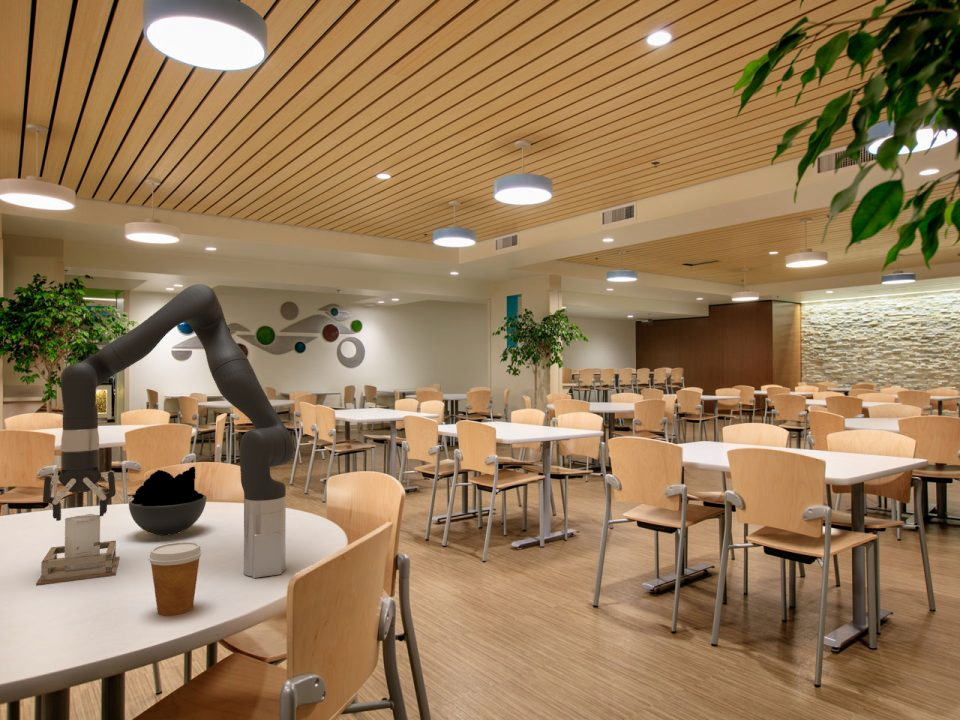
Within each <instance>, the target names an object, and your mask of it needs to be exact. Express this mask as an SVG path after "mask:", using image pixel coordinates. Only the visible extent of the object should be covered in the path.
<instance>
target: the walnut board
mask: <svg viewBox="0 0 960 720" xmlns="http://www.w3.org/2000/svg"><path fill="white" fill-rule="evenodd" d="M120 559H121V557H120V555H119V556H118V555H117V556H116V558H115V562H114V566H113V569H112V573H105V574H97V575H89V576H81V577H73V578H65V579H57V580H49V581H41V575H40V576H39V578H38V580H37V581H36V582H35V586H41V585H51V584H57V583H58V584H59V583H65V582H74V581H81V580H89V579H97V578H98V579H100V578H105V577H113V576H116V575H117V574H116V573H117V570H118V567H119V562H120ZM101 566H106V561H102V562H100V566H98V567H101ZM59 571H66V570H64V566H60V567H55V569H54V571H53V572H59Z"/></svg>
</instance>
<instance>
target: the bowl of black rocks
mask: <svg viewBox="0 0 960 720" xmlns="http://www.w3.org/2000/svg"><path fill="white" fill-rule="evenodd" d="M195 480H196V467H195V466H191V467H189V468H188V469H187V470H185V471H182V473H178V474H177V475H176V476H175V477H174V475H172V474H171V473H170V472H168V471H165V470H162V469H161V470H160V469H158V470H156V471H154V472H153V473H151V474H150V475H149V477H148V478H146V480H144V482H143V484H142V485H140V486H139V487H138V488H137V489H136V490H135V494H134V497H133V499H132V500H130V501H129V503H128V509H129V513H130V515H131V517H132V520H133V521H134V522H135V524H136V525H137V526H138V527H139V528H140V529H142V530H144V531H145V532H147V533H149V534H152V535H155V536H156V535H157V536H173V535H177V534H179V533H181V532H184V531H186V530H188V529H189V528H190V527H192V526H193V525H194V524H195V523H196V522H197V521H199V518H200V517H201V516H202V514H203V512H204V509H205V508H206V504H207V495H205V494H203V493H200V492H198V490H196V488H195V485H196V484H195V483H196V482H195Z"/></svg>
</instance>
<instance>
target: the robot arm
mask: <svg viewBox="0 0 960 720" xmlns="http://www.w3.org/2000/svg"><path fill="white" fill-rule="evenodd" d="M184 322H186V323H187V324H188V325H189V326H190V327H191V329H192V330H193V332H194V334H195V335H196V337H197V338H198V340H199V341H200V343H201V345H202V347H203V350H204V353H205V356H206V361H207V365H208V369H209V371H210V374H211V377H212V378H213V381H214V382H215V385H216V387H217V389H218V391H219V393H220V394H221V396H223V398H224V399H225V400H226V401H227V402H228V403H230V404H231V405H232V406H233V407H235V408H236V409H237V410H238V411H239V412H241V413H242V414H243V415H245V417H247V418H248V420H249V421H250V422H251V424H252V425H253V427H254V429H248V430H247V431H246V432H245V433H244V434H243V435H242V436H241V439H240V444H239V468H240V483H241V488H242V490H243V497H244V498H243V574H244V575H245V576H248V577H252V578H253V579H256V578H263V577H269V576H276V575H277V576H278V575H282V573H283V572H284V571H285V570H286V562H287V561H286V560H287V558H286V556H287V555H286V534H287V532H286V530H287V529H286V528H287V527H286V522H287V518H286V508H287V507H286V505H287V504H286V503H287V502H286V501H287V498H286V497H287V496H286V494H287V493H286V484H285V483H284V482H283V481H278V480H275V479H274V478H272V475H271V467H276V466H278V467H279V466H281V465H285V464H287V463H289V462H290V461H291V460H292V458H293V456H294V441H293V438H292V436H291V434H290V432H289V430H288V429H287V427H286V425H285V424H284V422H283V420H282V419H281V418H280V415H278V413H277V411H276V410H275V409H274V407H273V405H272V404H271V402H270V400H269V398H268V396H267V395H266V392H265V391H264V389H263V387H262V385H261V384H260V381H259V378H258V377H257V375H256V373H255V370H254V368H253V367H252V364H251V363H250V361H249V359H248V357H247V355H246V354H245V352H244V350H242V348H241V347H240V346H239V344H238V343H237V342H236V340H235V339H234V338H233V336H232V334H231V332H230V328H229V326H228V324H227V321H226V318H225V315H224V312H223V308H222V305H221V303H220V300H219V299H218V297H217V295H216V293H215V291H214V289H213V288H212V287H210V286H208V285H206V284H201V283H200V284H197V283H196V284H192V285H190V286H187V287H186V288H184V289H183V290H182V291H180V292H179V293H178V294H176V295H175V296H174V297H173V298H172V299H171V300H169V301H168V302H166V303H165V304H164V305H162V307H160V308H159V309H158V310H157V311H155V312H154V313H153V314H151V315H150V316H149V317H148V318H147V319H145V320H144V321H143V322H142V323H140V324H138V325H137V326H136V327H134V328H133V329H131V330H129V331H128V332H126V333H124V334H123V335H120V336H119V337H117V338H115V339H114V340H113V341H111V342H109V343H107V344H105V345H104V346H103V347H101V348H100V349H99V350H98V351H97V352H96V353H94V354H93V355H92V354H91V356H89V357H87V358H85V359H84V360H82V361H79V362H76V363H71V364H70V365H68V366H66V367H65V369H64V370H63V371H62V373H61V377H60V385H61V386H60V388H61V397H62V398H61V399H62V405H63V407H62V408H63V410H62V434H61V440H60V441H61V444H60V451H61V452H60V458H61V459H60V467H61V468H60V474H59V475H52V474H48V475H46V476H45V477H44V482H43V494H42V502H43V503H46V504H51V505H52V517H53V519H56V522H59V521H61V520H62V503H61V501H62V499H63V498H64V497H65V496H66V495H67V493H68V492H69V493H71V494H74V493H75V494H76V493H80V492H81V493H88V492H90V491H92V492H93V493H94V494H95V495H96V496H97V498H99V515H100V517H104V514H105V515H106V513H107V511H108V499H110V498H112V497H115V496H116V494H117V492H116V490H117V489H116V480H115V479H116V477H115V476H116V475H115V471H114V470H109V471H103V472H101V469H100V434H99V416H98V415H99V411H98V407H97V405H96V404H97V403H96V401H97V400H96V399H97V388H98V387H99V386H101V384H103V383H105V382H106V381H108V380H109V379H111V378H113V376H114V375H116V374H118V373H120V372H122V371H124V370H126V369H127V368H129V367H131V366H133V365H134V364H137V362H139V361H141V360H142V359H144V358H145V357H146V356H148V355H149V354H150V353H151V352H152V351H153V350H154V349H155V348H156V347H157V346H158V345H159V343H160V342H161V341H162V340H163V339H164V338H165V336H166V335H168V333H169V332H170V331H172V330H173V329H174V328H176V327H177V326H178V325H180V324H183V323H184ZM102 478H103V479H104V480H105V482H108V483H107V484H108V492H105V491H104V490H103V488H102V487H100V485H98V482H99V481H100V480H101V479H102ZM57 481H59V482H60V484H61V485H62V486H63V488H62V489H61V490H60V491H59V493H58V494H57V495H56V497H55V496H54V497H53V496H52V486H54V485H55V484H56V483H57Z"/></svg>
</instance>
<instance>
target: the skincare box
mask: <svg viewBox="0 0 960 720" xmlns="http://www.w3.org/2000/svg"><path fill="white" fill-rule="evenodd" d="M64 523H65V526H64V546H65V553H64V558H72V557H81V556H90V555H98V554H101V552H100V550H101V549H100V542H101V516H100V514H95V513H89V514H82V515H76V516H71V517H66V518H65V519H64ZM98 566H100V562H94V563H85V564H77V565H68V566H64V570H66V571H68V570H76V569H84V568H92V567H98Z"/></svg>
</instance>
